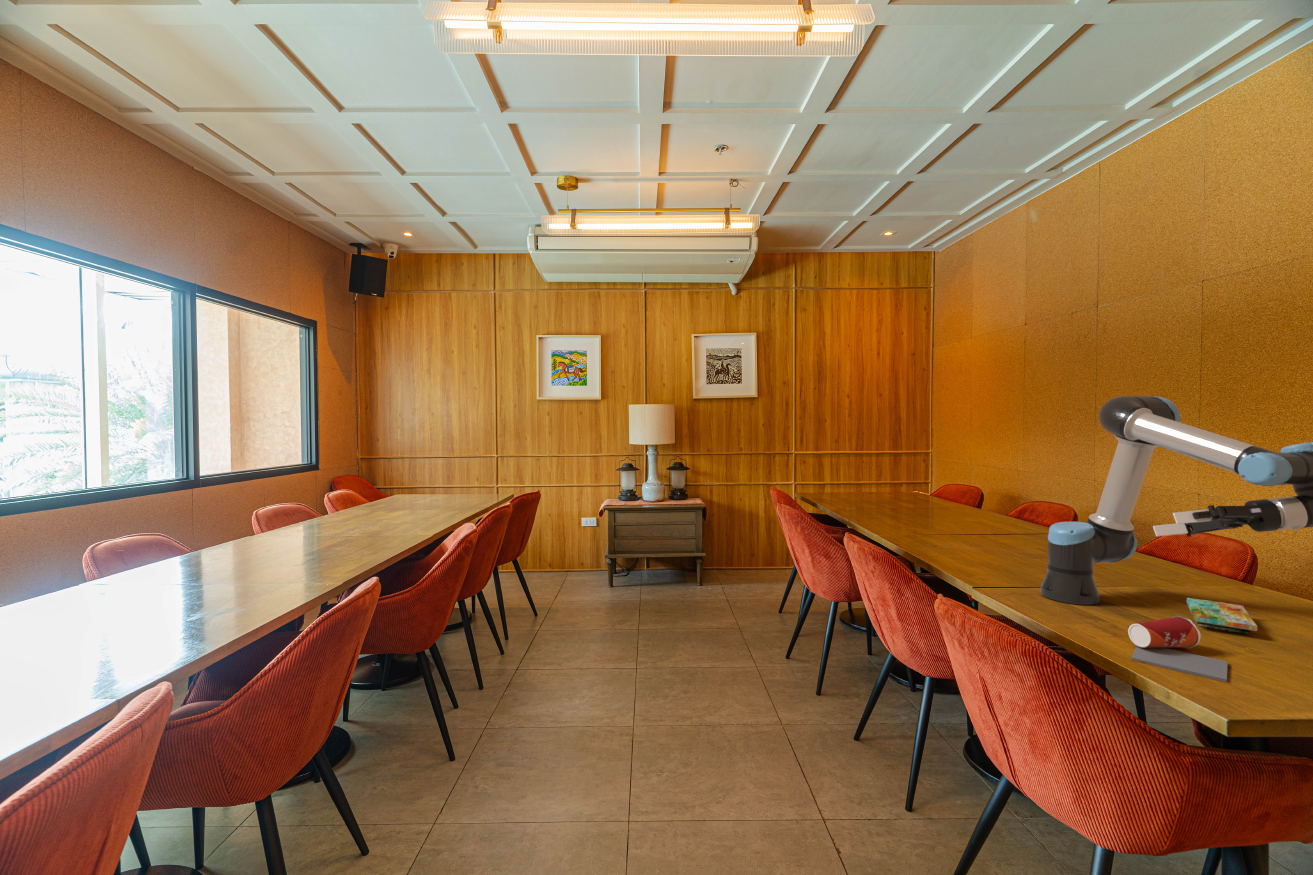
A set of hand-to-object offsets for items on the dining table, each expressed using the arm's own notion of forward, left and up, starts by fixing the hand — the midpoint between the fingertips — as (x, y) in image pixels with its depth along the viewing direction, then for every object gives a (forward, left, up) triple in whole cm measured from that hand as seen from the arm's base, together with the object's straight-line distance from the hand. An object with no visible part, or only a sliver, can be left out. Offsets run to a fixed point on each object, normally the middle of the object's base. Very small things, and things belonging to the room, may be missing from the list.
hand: (1164, 524), depth 146 cm
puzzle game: (+10, +29, -30) cm, 43 cm away
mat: (+4, -13, -30) cm, 33 cm away
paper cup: (-3, -11, -26) cm, 29 cm away
